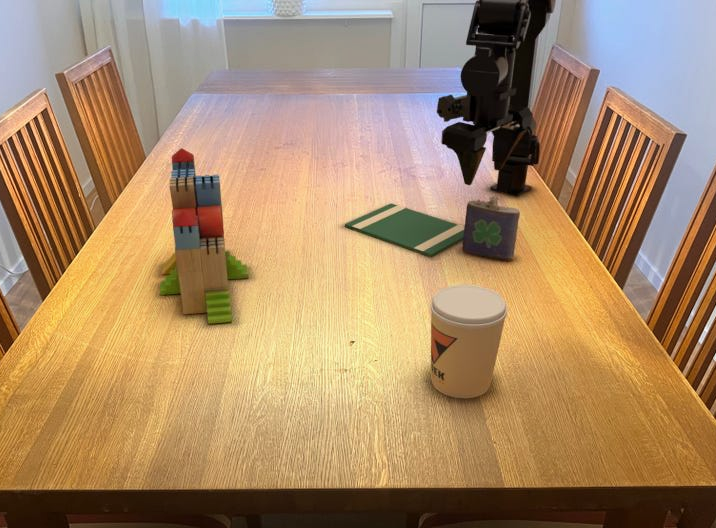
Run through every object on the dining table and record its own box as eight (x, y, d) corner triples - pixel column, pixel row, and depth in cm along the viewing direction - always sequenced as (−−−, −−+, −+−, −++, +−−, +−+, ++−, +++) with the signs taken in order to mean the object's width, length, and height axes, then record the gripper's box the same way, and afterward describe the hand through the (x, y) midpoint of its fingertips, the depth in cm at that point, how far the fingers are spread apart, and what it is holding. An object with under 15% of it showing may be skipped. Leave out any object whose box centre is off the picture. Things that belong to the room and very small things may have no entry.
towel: (390, 206, 149) (391, 202, 149) (475, 233, 138) (476, 229, 137) (344, 226, 140) (344, 223, 140) (431, 257, 129) (431, 254, 129)
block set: (255, 321, 111) (246, 197, 100) (158, 329, 109) (139, 203, 98) (243, 243, 134) (235, 136, 124) (163, 248, 132) (148, 140, 122)
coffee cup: (418, 363, 101) (424, 284, 95) (486, 360, 102) (496, 281, 95) (432, 404, 93) (439, 321, 87) (505, 400, 94) (517, 318, 88)
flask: (515, 257, 129) (523, 198, 123) (510, 264, 127) (518, 204, 121) (464, 246, 133) (470, 189, 127) (458, 253, 131) (464, 194, 125)
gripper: (481, 63, 128) (472, 153, 136) (416, 84, 116) (411, 181, 125) (540, 73, 122) (526, 167, 130) (477, 96, 110) (467, 197, 119)
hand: (482, 177), depth 126 cm, fingers open, 9 cm apart
